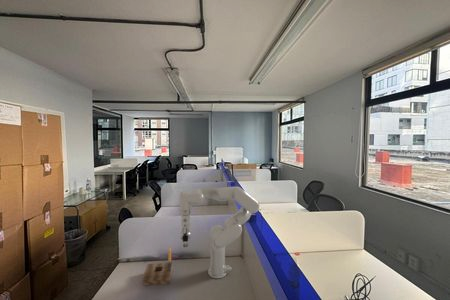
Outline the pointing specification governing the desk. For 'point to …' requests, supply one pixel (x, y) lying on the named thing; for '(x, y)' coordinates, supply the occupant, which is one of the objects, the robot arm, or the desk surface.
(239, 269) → the desk surface
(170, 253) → the bar
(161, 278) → the hitch block
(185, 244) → the silver rounded cylinder
